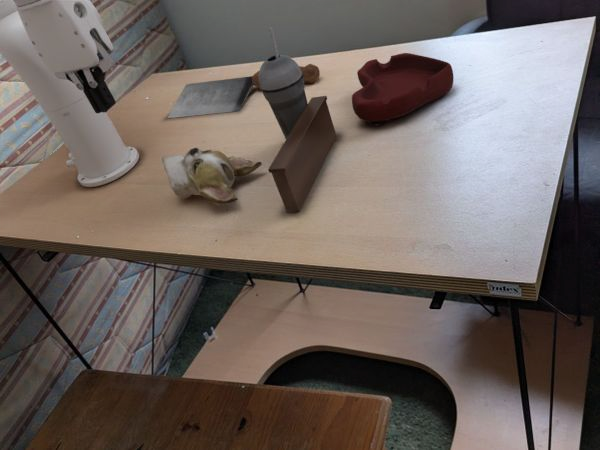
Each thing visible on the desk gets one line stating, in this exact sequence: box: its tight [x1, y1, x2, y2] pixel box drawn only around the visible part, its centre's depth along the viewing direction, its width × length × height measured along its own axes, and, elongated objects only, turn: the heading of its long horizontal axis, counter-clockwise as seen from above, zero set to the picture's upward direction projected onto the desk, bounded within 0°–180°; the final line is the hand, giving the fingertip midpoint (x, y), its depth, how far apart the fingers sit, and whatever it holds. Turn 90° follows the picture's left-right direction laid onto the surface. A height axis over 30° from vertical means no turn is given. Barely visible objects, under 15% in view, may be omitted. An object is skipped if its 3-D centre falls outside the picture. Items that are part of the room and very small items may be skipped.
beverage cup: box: [258, 27, 309, 140], centre depth 89 cm, size 7×7×20 cm
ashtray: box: [351, 52, 455, 126], centre depth 94 cm, size 18×16×5 cm
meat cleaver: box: [167, 63, 321, 119], centre depth 117 cm, size 34×11×4 cm, turn 69°
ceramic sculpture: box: [161, 147, 263, 206], centre depth 88 cm, size 11×9×15 cm
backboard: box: [267, 95, 338, 213], centre depth 84 cm, size 3×20×8 cm, turn 161°
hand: (106, 108), depth 86 cm, fingers closed
